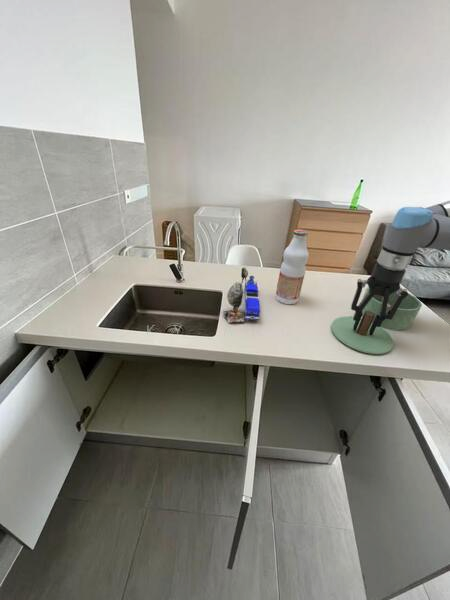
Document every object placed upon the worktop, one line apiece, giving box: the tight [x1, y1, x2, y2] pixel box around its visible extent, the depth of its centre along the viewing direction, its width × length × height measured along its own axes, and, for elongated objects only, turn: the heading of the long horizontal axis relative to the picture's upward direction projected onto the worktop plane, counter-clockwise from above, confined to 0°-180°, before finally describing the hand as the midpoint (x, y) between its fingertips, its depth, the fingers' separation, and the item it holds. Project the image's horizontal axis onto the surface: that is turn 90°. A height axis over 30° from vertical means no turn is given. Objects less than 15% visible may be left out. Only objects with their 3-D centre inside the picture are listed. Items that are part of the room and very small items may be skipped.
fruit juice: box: [275, 229, 310, 305], centre depth 93 cm, size 9×9×28 cm
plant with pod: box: [222, 267, 249, 324], centre depth 83 cm, size 8×11×20 cm
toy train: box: [244, 275, 261, 321], centre depth 93 cm, size 5×25×8 cm, turn 177°
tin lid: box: [331, 311, 394, 355], centre depth 79 cm, size 19×19×9 cm
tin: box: [361, 286, 423, 331], centre depth 91 cm, size 18×18×8 cm
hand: (362, 330), depth 81 cm, fingers open, 4 cm apart
